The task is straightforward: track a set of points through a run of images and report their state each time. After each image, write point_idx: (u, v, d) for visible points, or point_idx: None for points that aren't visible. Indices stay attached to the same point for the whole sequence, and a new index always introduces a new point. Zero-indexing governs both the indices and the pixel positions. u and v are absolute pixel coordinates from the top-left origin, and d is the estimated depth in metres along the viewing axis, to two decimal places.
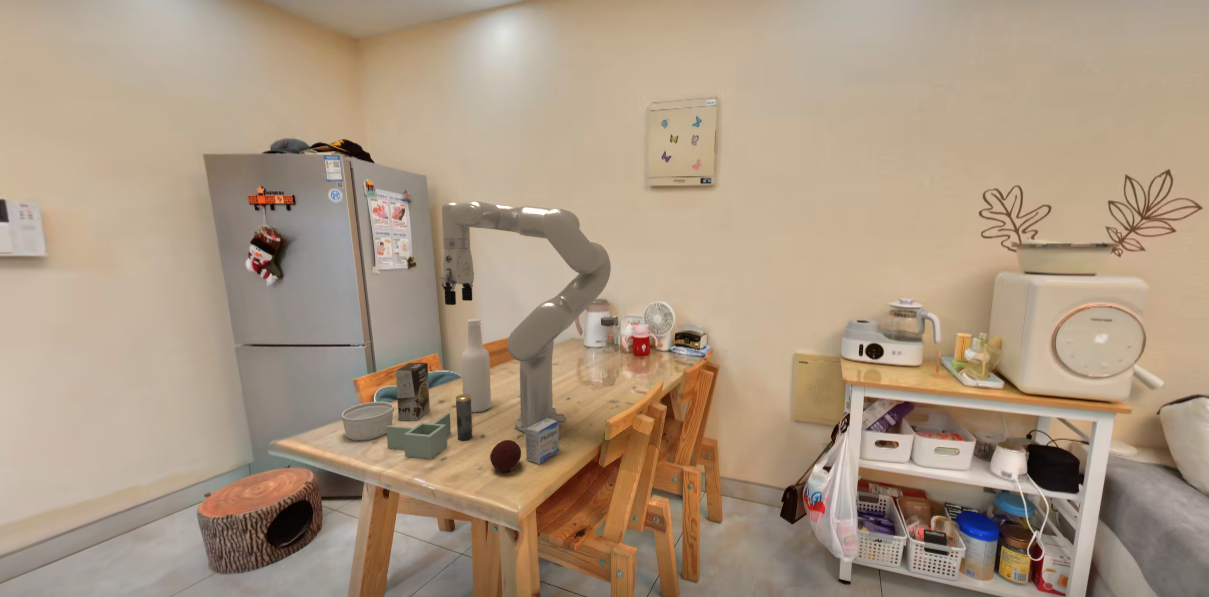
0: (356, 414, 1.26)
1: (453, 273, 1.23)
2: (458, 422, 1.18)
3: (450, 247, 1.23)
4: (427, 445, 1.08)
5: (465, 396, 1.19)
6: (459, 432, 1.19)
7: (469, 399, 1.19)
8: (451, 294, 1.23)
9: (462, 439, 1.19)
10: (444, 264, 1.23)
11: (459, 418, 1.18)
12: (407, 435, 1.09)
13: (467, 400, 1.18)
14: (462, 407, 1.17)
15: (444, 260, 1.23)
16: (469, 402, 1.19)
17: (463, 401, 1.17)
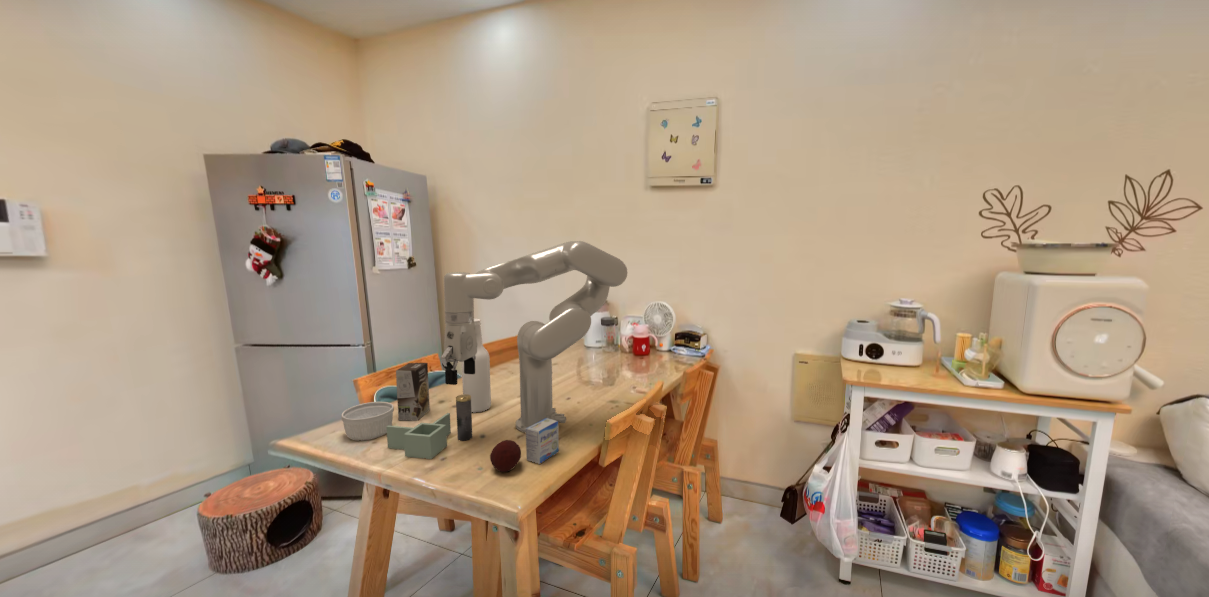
0: (356, 414, 1.26)
1: (455, 351, 1.12)
2: (458, 422, 1.18)
3: (452, 322, 1.13)
4: (427, 445, 1.08)
5: (465, 396, 1.19)
6: (459, 432, 1.19)
7: (469, 399, 1.19)
8: (452, 373, 1.12)
9: (462, 439, 1.19)
10: (445, 340, 1.13)
11: (459, 418, 1.18)
12: (407, 435, 1.09)
13: (467, 400, 1.18)
14: (462, 407, 1.17)
15: (445, 336, 1.13)
16: (469, 402, 1.19)
17: (463, 401, 1.17)
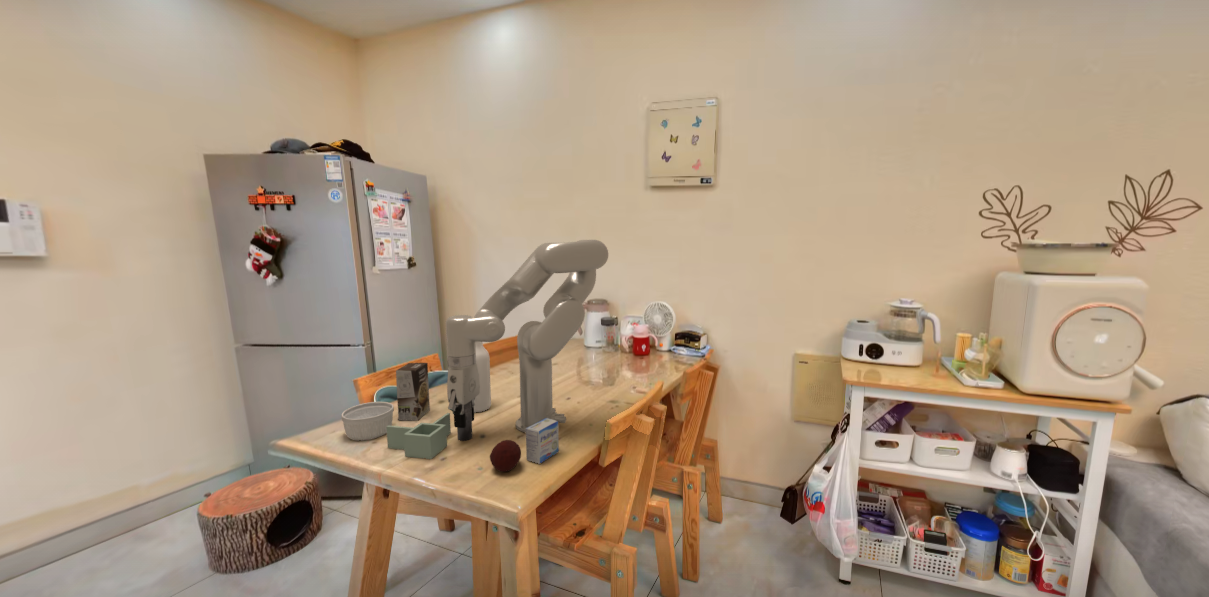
0: (356, 414, 1.26)
1: (458, 394, 1.14)
2: None
3: (455, 366, 1.14)
4: (427, 445, 1.08)
5: None
6: (459, 432, 1.19)
7: None
8: (461, 417, 1.17)
9: (462, 439, 1.19)
10: (448, 384, 1.14)
11: None
12: (407, 435, 1.09)
13: None
14: None
15: (448, 380, 1.14)
16: (469, 402, 1.19)
17: None
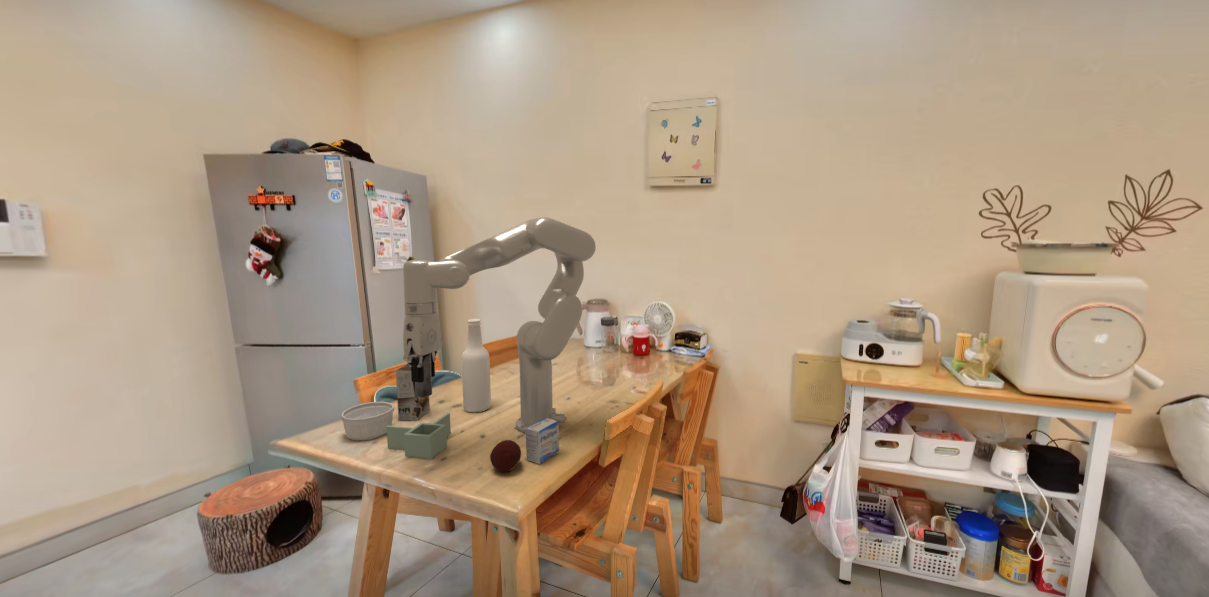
0: (356, 414, 1.26)
1: (414, 344, 1.04)
2: None
3: (412, 313, 1.05)
4: (427, 445, 1.08)
5: None
6: (417, 387, 1.09)
7: None
8: (418, 370, 1.07)
9: (420, 395, 1.09)
10: (404, 333, 1.05)
11: None
12: (407, 435, 1.09)
13: None
14: None
15: (404, 328, 1.05)
16: (428, 355, 1.09)
17: None
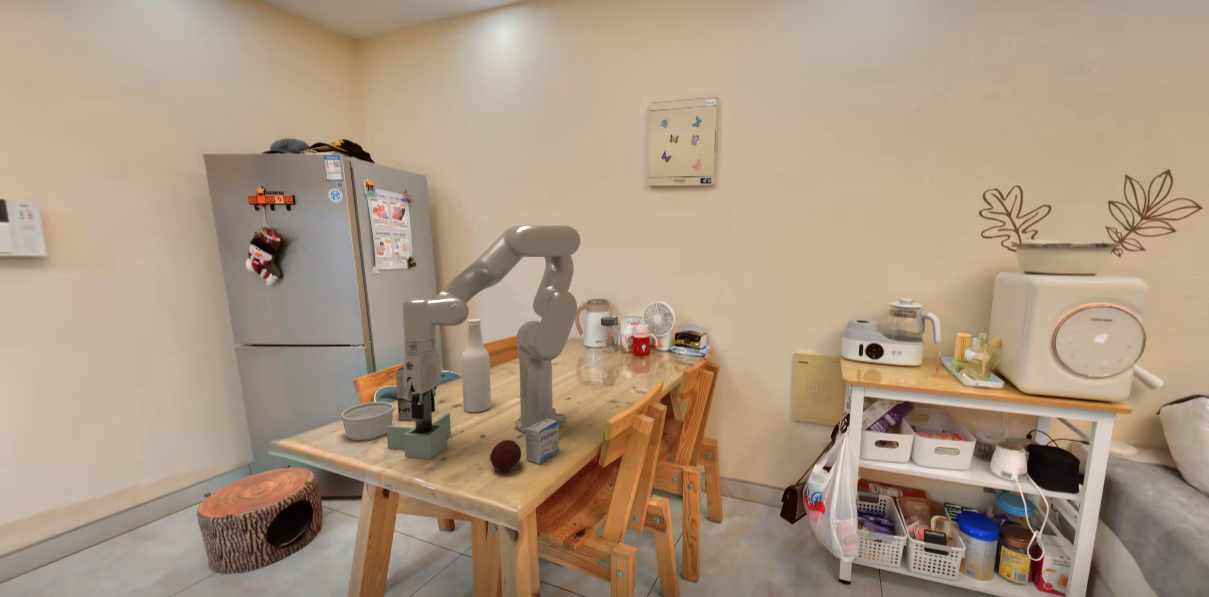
0: (356, 414, 1.26)
1: (414, 382, 1.05)
2: None
3: (412, 351, 1.06)
4: (427, 445, 1.08)
5: None
6: (417, 424, 1.10)
7: None
8: (418, 408, 1.08)
9: (420, 431, 1.10)
10: (404, 371, 1.05)
11: None
12: (407, 435, 1.09)
13: None
14: None
15: (404, 367, 1.06)
16: (428, 391, 1.10)
17: None
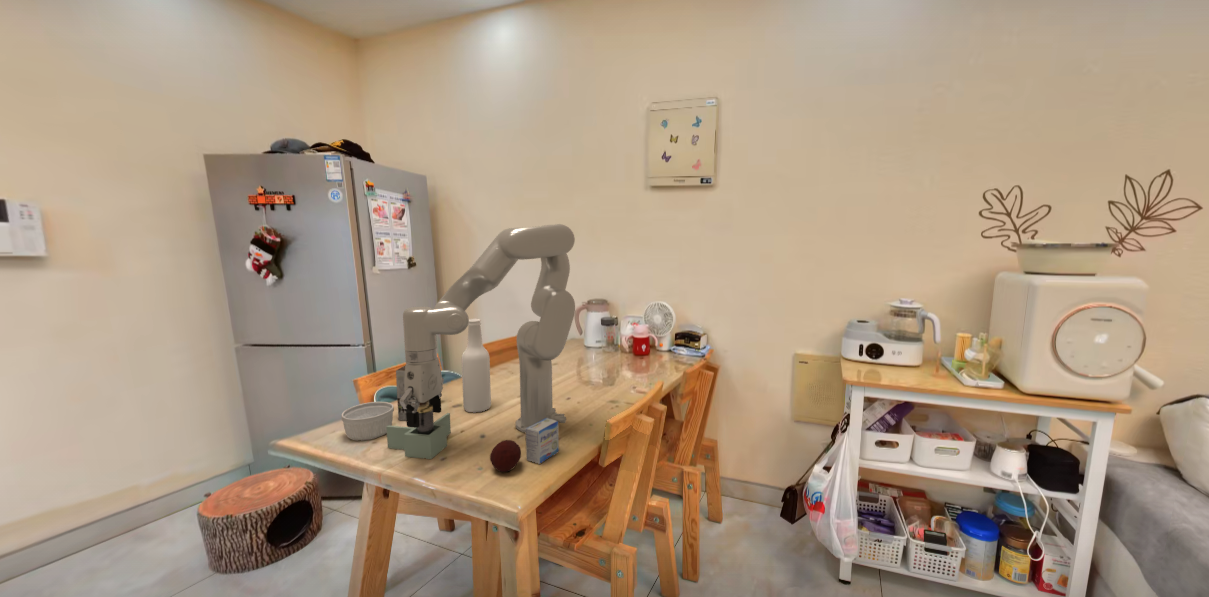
0: (356, 414, 1.26)
1: (416, 392, 1.05)
2: None
3: (412, 361, 1.06)
4: (427, 445, 1.08)
5: (426, 407, 1.12)
6: None
7: (430, 410, 1.11)
8: (413, 416, 1.06)
9: None
10: (405, 381, 1.06)
11: (420, 431, 1.10)
12: (407, 435, 1.09)
13: (428, 411, 1.10)
14: (423, 418, 1.10)
15: (405, 376, 1.06)
16: (430, 413, 1.11)
17: (423, 412, 1.10)
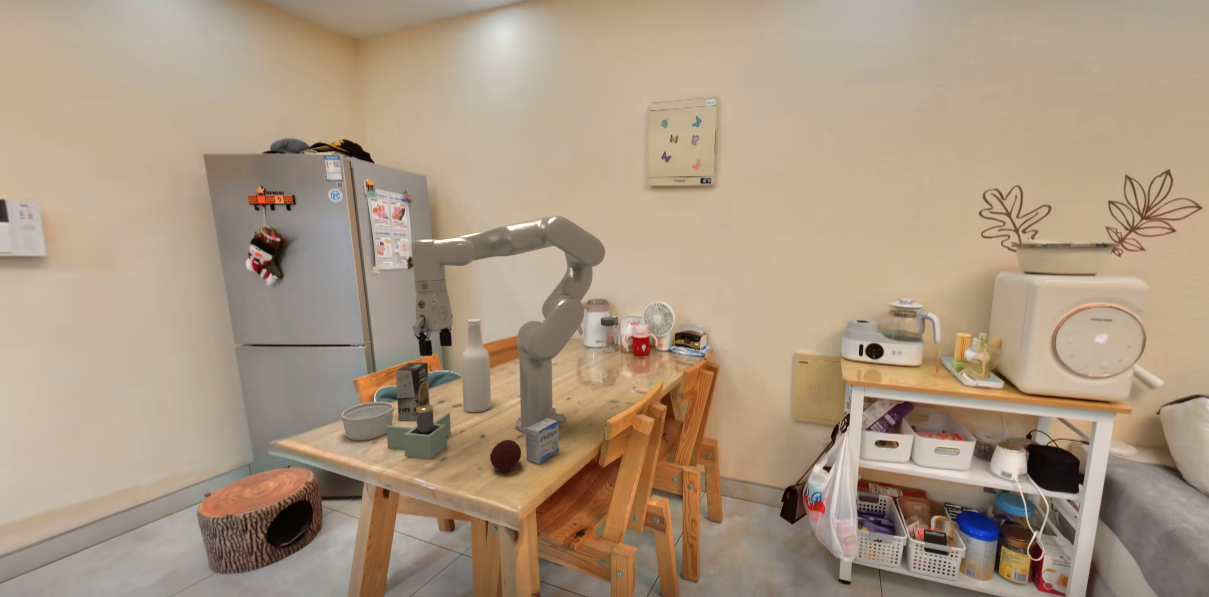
0: (356, 414, 1.26)
1: (427, 320, 1.07)
2: None
3: (423, 290, 1.08)
4: (427, 445, 1.08)
5: (426, 407, 1.12)
6: None
7: (430, 410, 1.11)
8: (426, 344, 1.08)
9: None
10: (417, 310, 1.08)
11: (419, 431, 1.10)
12: (407, 435, 1.09)
13: (428, 411, 1.10)
14: (423, 418, 1.10)
15: (416, 305, 1.08)
16: (430, 413, 1.11)
17: (423, 412, 1.10)
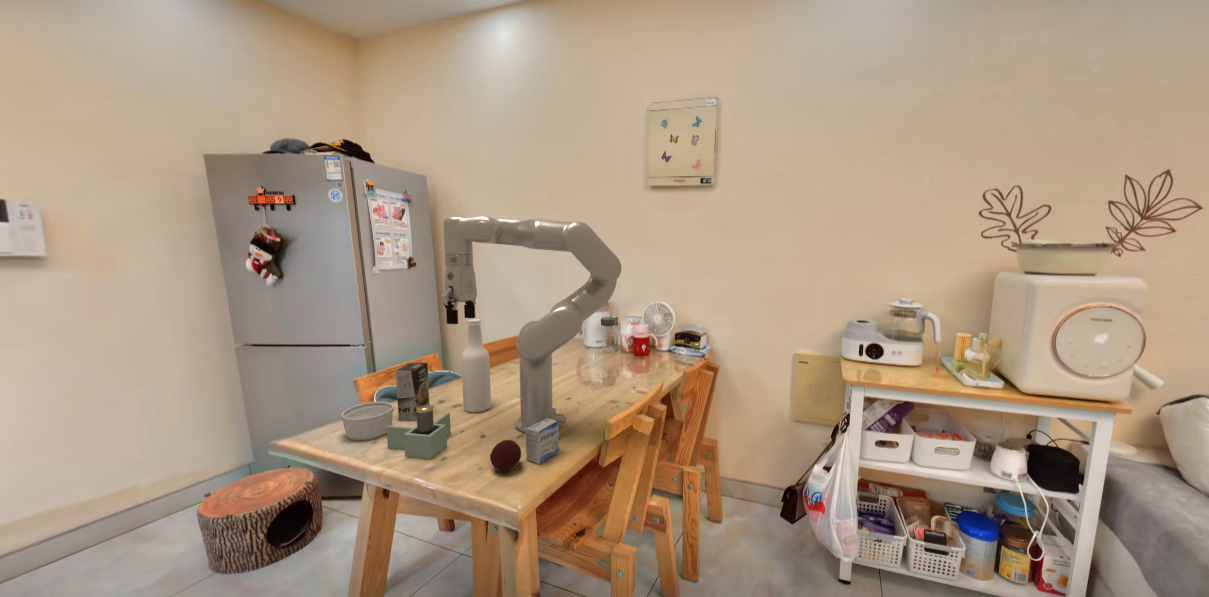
0: (356, 414, 1.26)
1: (455, 291, 1.17)
2: None
3: (452, 263, 1.17)
4: (427, 445, 1.08)
5: (426, 407, 1.12)
6: None
7: (430, 410, 1.11)
8: (453, 313, 1.17)
9: None
10: (446, 281, 1.17)
11: (419, 431, 1.10)
12: (407, 435, 1.09)
13: (428, 411, 1.10)
14: (423, 418, 1.10)
15: (446, 277, 1.17)
16: (430, 413, 1.11)
17: (423, 412, 1.10)
